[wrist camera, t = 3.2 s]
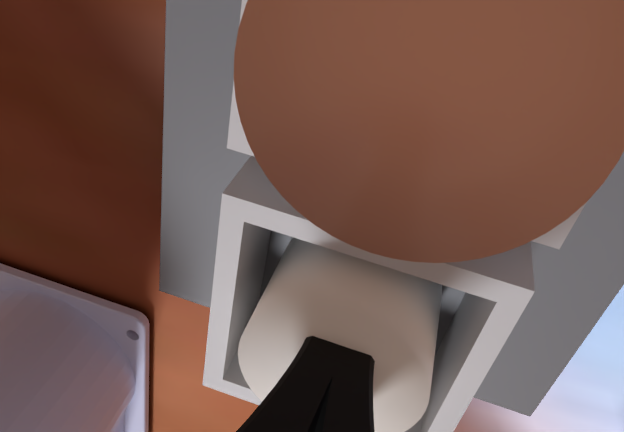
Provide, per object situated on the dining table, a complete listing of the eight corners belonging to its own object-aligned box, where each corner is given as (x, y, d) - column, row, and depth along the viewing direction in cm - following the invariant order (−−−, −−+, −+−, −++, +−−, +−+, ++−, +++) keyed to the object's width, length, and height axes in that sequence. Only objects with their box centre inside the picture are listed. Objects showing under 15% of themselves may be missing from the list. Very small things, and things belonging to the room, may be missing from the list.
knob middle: (523, 179, 9) (533, 303, 7) (289, 111, 9) (219, 204, 7) (658, -97, 7) (748, -60, 4) (338, -172, 7) (257, -175, 5)
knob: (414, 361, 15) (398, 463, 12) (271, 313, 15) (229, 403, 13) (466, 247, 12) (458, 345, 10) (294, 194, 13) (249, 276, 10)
